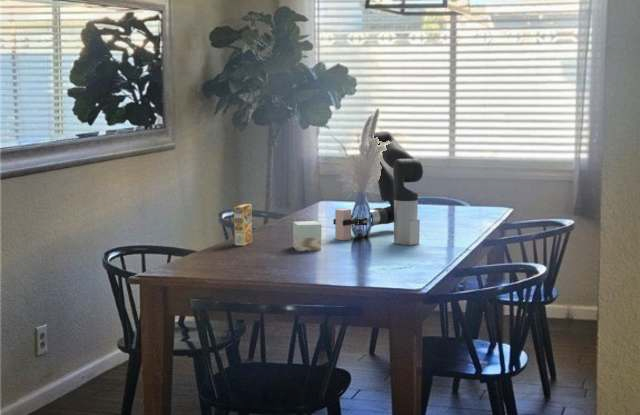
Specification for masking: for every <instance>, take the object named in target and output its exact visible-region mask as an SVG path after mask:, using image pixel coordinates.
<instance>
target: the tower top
mask: <svg viewBox="0 0 640 415" xmlns="http://www.w3.org/2000/svg"><path fill="white" fill-rule="evenodd" d="M292 225H293V226H292V228H293V229H292V230H293V232H292V233H293V234H292V236H293V235H294V236H296V237H297V238H321V239H322V224H321V223H320V222H318V220H317V221H316V220H309V221H307V220H306V221H304V220H303V221H293V222H292Z"/></svg>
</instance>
